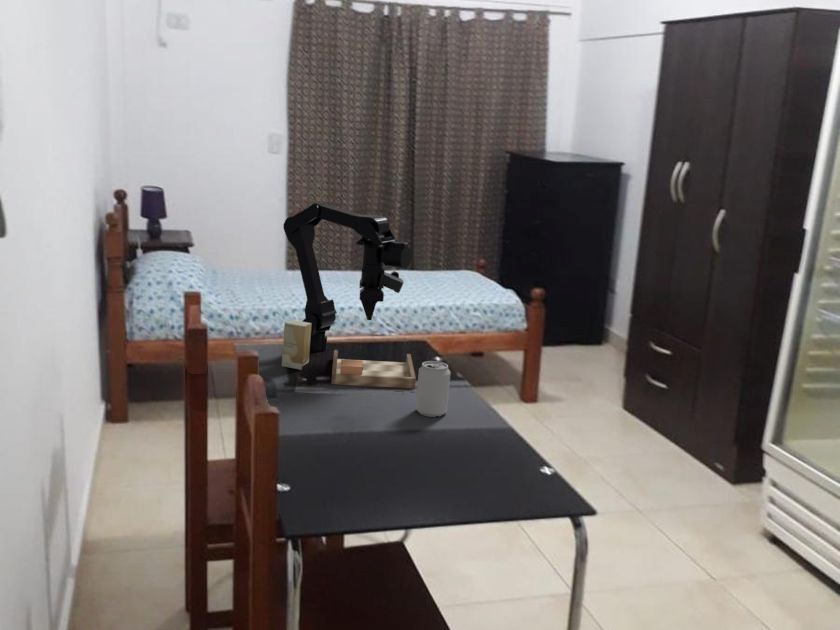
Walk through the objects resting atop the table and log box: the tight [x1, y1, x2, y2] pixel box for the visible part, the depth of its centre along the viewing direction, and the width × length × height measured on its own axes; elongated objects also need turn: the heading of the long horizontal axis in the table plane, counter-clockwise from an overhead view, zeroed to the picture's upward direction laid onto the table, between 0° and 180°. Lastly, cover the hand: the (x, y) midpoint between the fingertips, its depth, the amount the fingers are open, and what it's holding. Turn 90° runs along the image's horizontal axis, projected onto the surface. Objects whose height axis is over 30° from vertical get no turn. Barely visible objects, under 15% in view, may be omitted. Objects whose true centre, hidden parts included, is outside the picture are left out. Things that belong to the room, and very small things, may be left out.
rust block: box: [340, 359, 363, 375], centre depth 217 cm, size 6×6×4 cm
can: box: [415, 360, 451, 418], centre depth 201 cm, size 8×8×12 cm
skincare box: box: [281, 319, 312, 371], centre depth 228 cm, size 6×4×12 cm
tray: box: [330, 349, 417, 393], centre depth 225 cm, size 21×22×4 cm
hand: (369, 319), depth 232 cm, fingers closed
